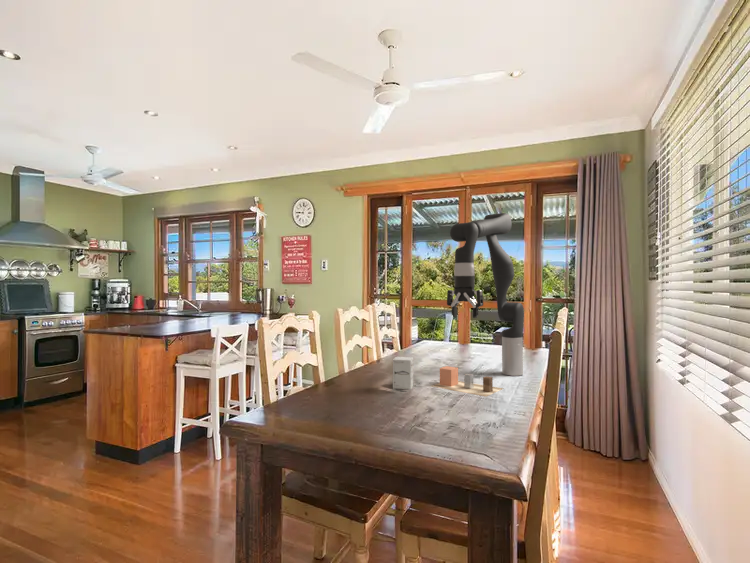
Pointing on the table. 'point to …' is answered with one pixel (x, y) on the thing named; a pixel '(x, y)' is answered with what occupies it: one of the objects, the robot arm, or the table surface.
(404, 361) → the supplement box
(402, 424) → the table surface
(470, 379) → the steel post
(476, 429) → the table surface
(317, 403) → the table surface
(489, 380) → the walnut post
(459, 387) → the board
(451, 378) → the salmon orange block
